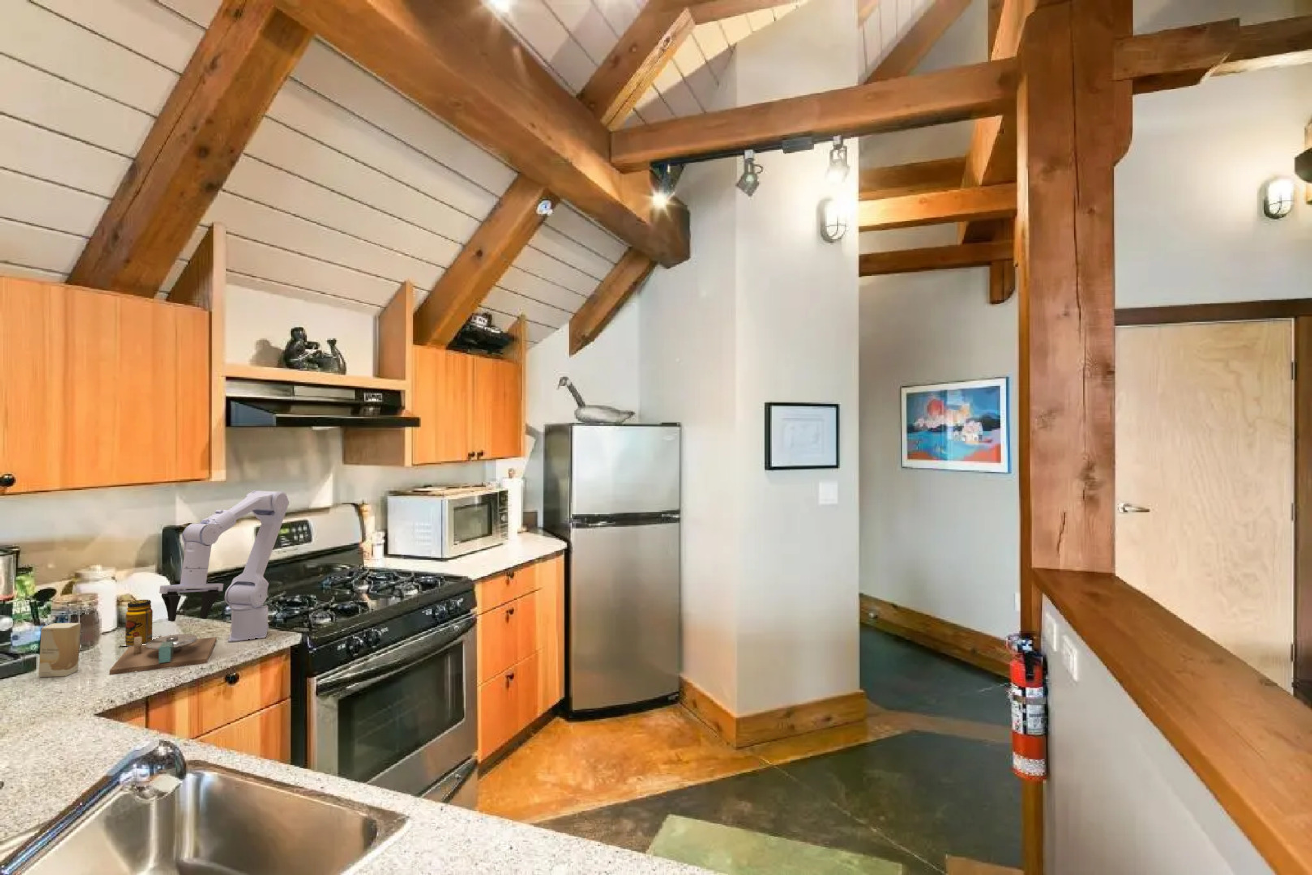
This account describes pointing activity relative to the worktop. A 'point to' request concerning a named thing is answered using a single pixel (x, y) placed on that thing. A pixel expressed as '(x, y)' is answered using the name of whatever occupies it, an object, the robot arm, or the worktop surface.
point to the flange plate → (170, 645)
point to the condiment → (138, 621)
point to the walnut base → (149, 659)
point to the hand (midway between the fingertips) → (187, 619)
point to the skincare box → (59, 649)
